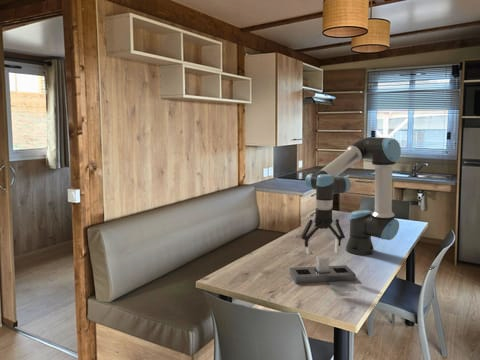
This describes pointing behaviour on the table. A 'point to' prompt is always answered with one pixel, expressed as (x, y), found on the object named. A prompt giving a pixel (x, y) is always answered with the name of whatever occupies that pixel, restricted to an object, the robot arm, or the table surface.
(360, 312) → the table surface
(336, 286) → the slate pad
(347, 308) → the table surface
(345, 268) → the grey slotted block
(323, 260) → the steel block
